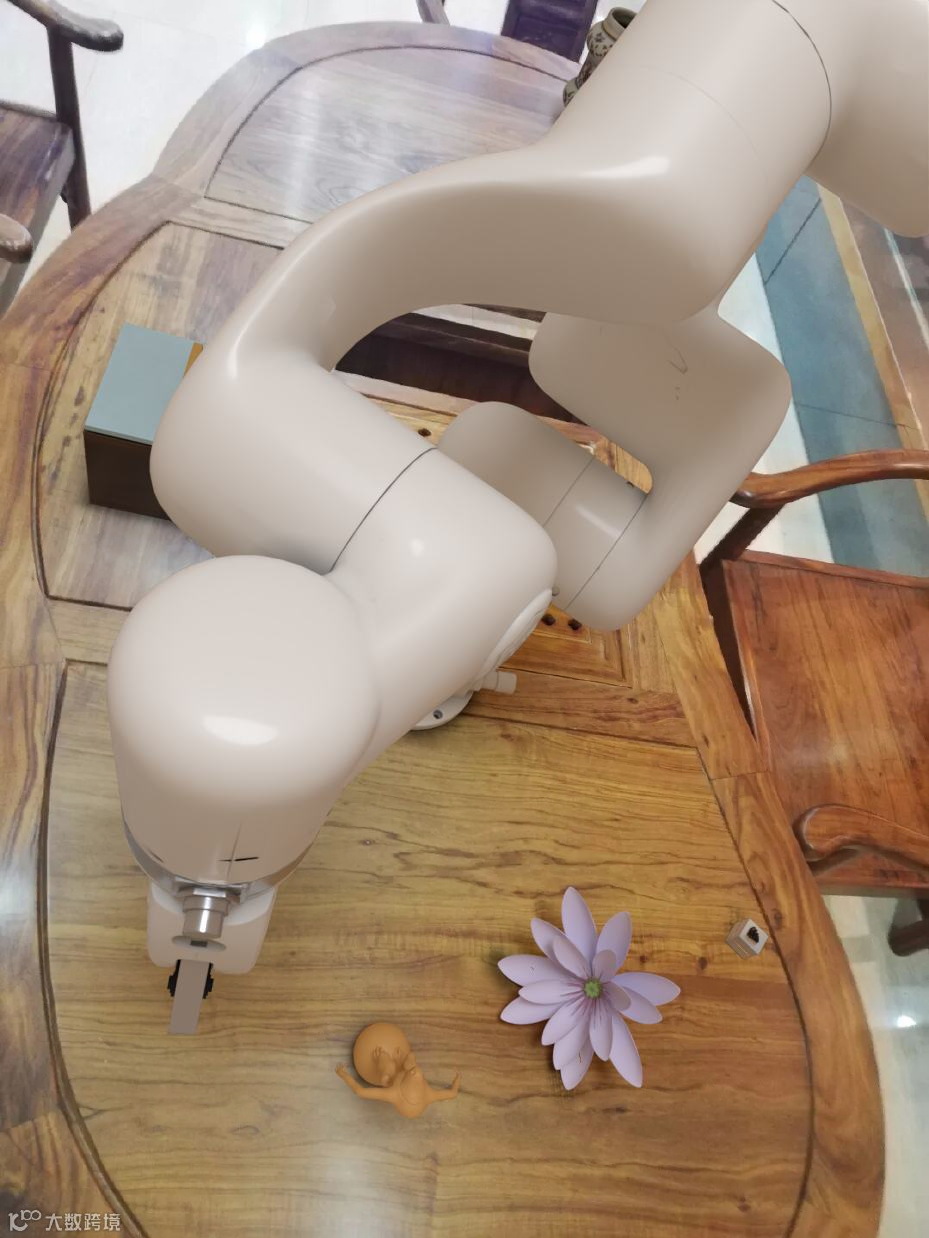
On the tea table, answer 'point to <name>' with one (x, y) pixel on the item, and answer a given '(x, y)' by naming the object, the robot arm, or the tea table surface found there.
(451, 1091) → the figurine
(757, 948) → the cube with dark pebbles
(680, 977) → the tea table surface
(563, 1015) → the water lily
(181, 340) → the light blue lid
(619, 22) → the apothecary jar
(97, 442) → the tea box
